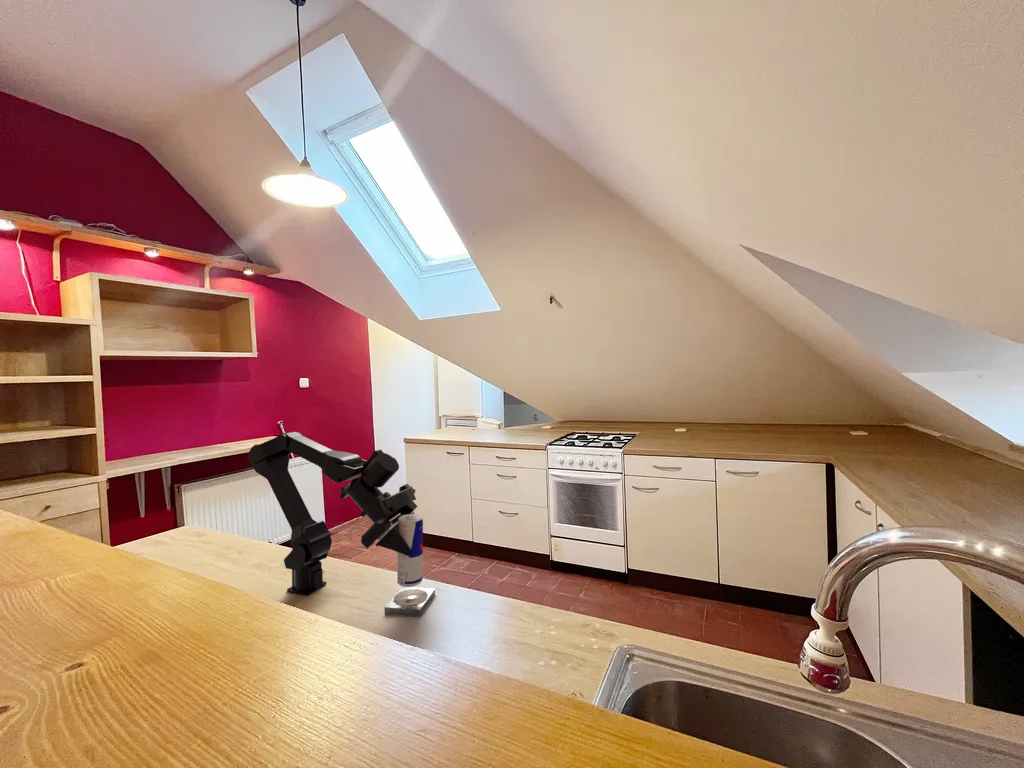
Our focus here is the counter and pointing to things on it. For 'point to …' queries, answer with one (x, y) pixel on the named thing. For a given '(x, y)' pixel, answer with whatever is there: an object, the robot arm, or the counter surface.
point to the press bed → (410, 601)
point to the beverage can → (413, 536)
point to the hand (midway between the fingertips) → (415, 550)
